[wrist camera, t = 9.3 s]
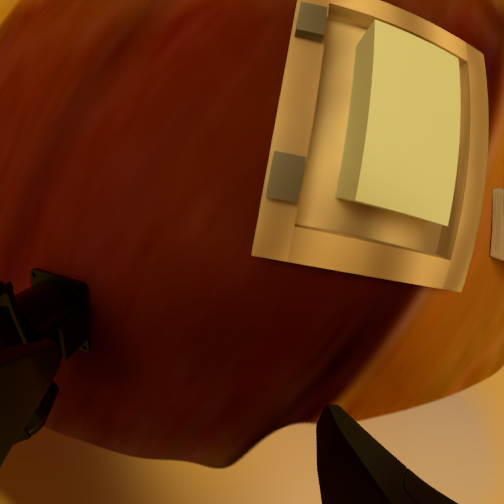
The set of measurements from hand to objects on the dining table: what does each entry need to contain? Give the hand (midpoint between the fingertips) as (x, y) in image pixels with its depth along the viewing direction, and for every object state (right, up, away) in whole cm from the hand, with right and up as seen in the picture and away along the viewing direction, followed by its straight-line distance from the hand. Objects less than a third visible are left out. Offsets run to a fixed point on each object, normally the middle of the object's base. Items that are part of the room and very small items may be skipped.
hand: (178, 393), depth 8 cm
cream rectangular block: (+11, +12, +8) cm, 19 cm away
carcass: (+11, +12, +9) cm, 19 cm away
